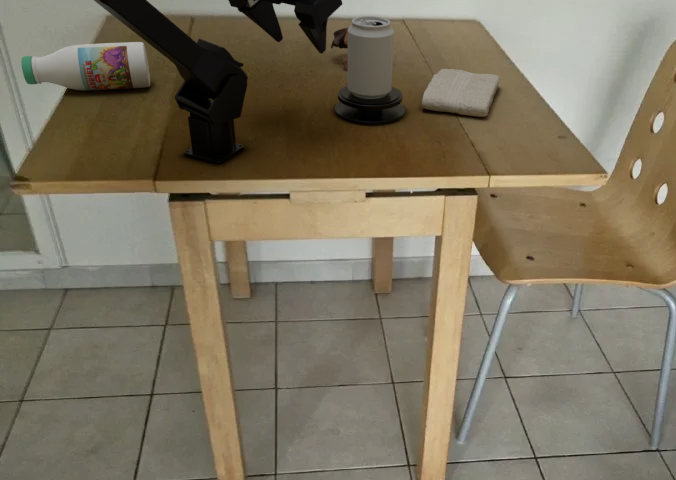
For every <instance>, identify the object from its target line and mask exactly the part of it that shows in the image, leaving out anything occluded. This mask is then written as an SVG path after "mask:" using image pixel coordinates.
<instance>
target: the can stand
mask: <svg viewBox="0 0 676 480" xmlns="http://www.w3.org/2000/svg"><path fill="white" fill-rule="evenodd" d="M403 96H404V95H403V92H402V91H401V90H400V89H398V88H396V87H394V86H392V90H391V91H390V92H389V93H387V95H386V96H384V97H382V98H377V99H365V98H360V97H357V96H355V95H353V93H352V92H351V91H350V90H349V89H348V85H345V86H343V87H341V88H340V89H339V90H338V92H337V100H338V102H336V104H335V106H334V113H335V115H336V116H337V117H338V118H339V119H341V120H343V121H345V122H347V123H351V124H356V125H360V126H384V125H388V124H393V123H397V122H398V121H400V120H401V119H403V118H404V117H405V114H406V113H405V111H406V109H405V107H404V106H403V104H402V102H403V98H404V97H403Z"/></svg>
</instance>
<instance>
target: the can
mask: <svg viewBox="0 0 676 480" xmlns="http://www.w3.org/2000/svg"><path fill="white" fill-rule="evenodd" d="M351 23H352V24H350V26H349V27H347V28H348V49H347V57H348V70H347V86H348V89H349V90H350V91H351V92H352V93H353V95H355V96H357V97H360V98H365V99H377V98H382V97H384V96H386V95H387V93H389V92H390V91H391V90H392V87H393V64H394V63H393V61H394V36H395V30H394V29H393V28H392V26H391V21H390V20H389V19H388V18H385V17H382V16H376V15H361V16H357V17H354V18H352V19H351Z"/></svg>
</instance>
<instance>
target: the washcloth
mask: <svg viewBox="0 0 676 480" xmlns="http://www.w3.org/2000/svg"><path fill="white" fill-rule="evenodd" d="M500 81H501V76H499V75H498V74H492V73H474V72H470V71H466V70H463V69H451V68H450V69H449V68H442V69H440V70H439V71H438V72H437V73H434V74H433V77H432V78H431V80H430V82H429V83H428V85H427V87H426V89H425V90H424V92H423V94H422V95H423V96H422V99H421V108H423V109H425V110H429V111H435V112H441V113H442V112H445V113H451V114H458V115H461V116H462V115H463V116H470V117H478V118H480V117H481V118H485V117H487V116H488V113H489V112H490V108H491V105H492V103H493V102H494V101H493V100H494V97H495V94H496V93H497V90H498V89H499V87H500V86H499V83H500Z"/></svg>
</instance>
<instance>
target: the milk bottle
mask: <svg viewBox="0 0 676 480" xmlns="http://www.w3.org/2000/svg"><path fill="white" fill-rule="evenodd" d="M21 70H22V75H23V79H24V80H25V83H26V84H28V85H38V84H40V85H41V84H42V83H49V84H54V85H58V86H61V87H64V88H67V89H70V90H75V91H107V90H108V91H109V90H124V89H125V90H126V89H128V90H129V89H142V88H143V89H145V88H149V87H151V75H150V66H149V60H148V53H147V49H146V45H145V43H144V42H141V41H128V42H126V41H125V42H124V41H123V42H105V43H104V42H103V43H101V42H100V43H84V44H73V45H68V46H65V47H62V48H60V49H58V50H56V51H54V52H52V53H50V54H47V55H43V56H36V55H34V56H33V55H26V56H25V55H24V56H22V57H21Z"/></svg>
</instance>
